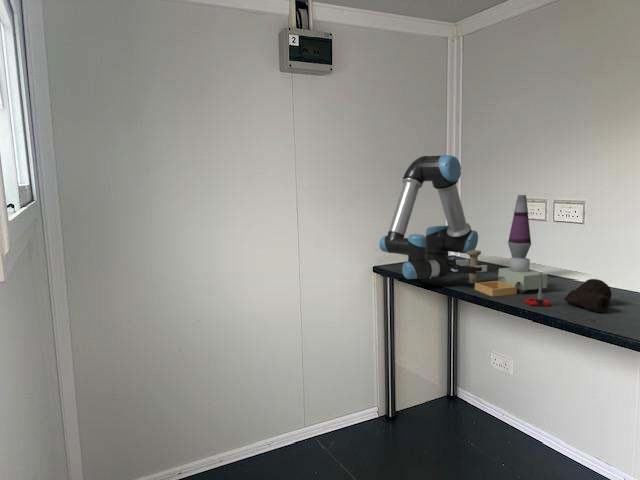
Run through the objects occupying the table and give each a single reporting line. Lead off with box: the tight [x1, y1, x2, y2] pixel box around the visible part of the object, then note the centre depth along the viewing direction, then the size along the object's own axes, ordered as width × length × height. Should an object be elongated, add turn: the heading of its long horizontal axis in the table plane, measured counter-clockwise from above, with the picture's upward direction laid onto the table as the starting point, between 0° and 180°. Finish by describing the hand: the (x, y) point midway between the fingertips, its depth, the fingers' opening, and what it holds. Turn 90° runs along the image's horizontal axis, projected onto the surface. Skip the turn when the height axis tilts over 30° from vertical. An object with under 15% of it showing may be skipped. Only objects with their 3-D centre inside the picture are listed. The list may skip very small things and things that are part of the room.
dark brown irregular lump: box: [563, 278, 612, 313], centre depth 175 cm, size 10×15×15 cm
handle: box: [466, 249, 482, 285], centre depth 213 cm, size 5×6×15 cm
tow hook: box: [524, 272, 550, 307], centre depth 181 cm, size 8×13×9 cm
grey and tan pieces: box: [474, 257, 549, 297], centre depth 200 cm, size 16×26×13 cm, turn 107°
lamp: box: [507, 194, 532, 258], centre depth 217 cm, size 11×11×40 cm
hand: (477, 265), depth 213 cm, fingers open, 13 cm apart
